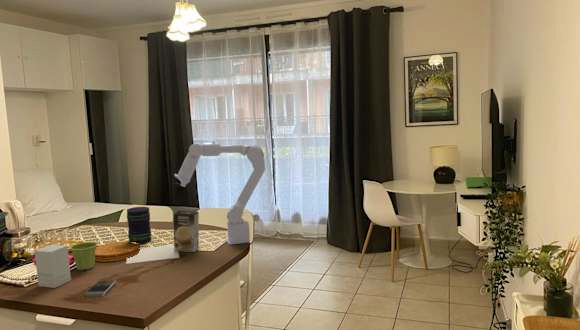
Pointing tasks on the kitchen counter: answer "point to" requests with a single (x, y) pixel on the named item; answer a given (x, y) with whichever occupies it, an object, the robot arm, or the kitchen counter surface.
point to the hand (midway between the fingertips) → (174, 196)
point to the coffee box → (186, 231)
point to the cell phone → (100, 289)
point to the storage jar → (139, 225)
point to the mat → (154, 254)
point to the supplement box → (52, 266)
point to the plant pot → (84, 255)
